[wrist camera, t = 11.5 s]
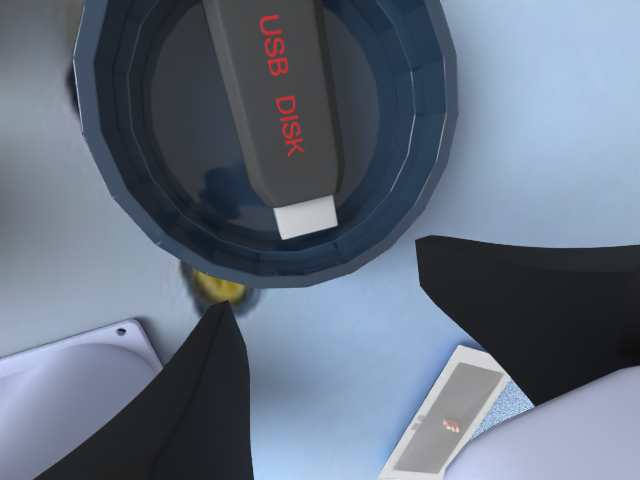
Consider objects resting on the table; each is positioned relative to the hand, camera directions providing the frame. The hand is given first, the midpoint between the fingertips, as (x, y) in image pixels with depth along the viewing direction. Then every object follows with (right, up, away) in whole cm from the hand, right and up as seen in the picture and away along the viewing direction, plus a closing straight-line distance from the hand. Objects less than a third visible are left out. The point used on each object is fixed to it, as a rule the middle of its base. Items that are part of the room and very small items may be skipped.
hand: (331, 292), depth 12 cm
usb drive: (-3, +8, +6) cm, 11 cm away
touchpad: (+11, -14, +19) cm, 26 cm away
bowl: (-3, +9, +6) cm, 11 cm away
